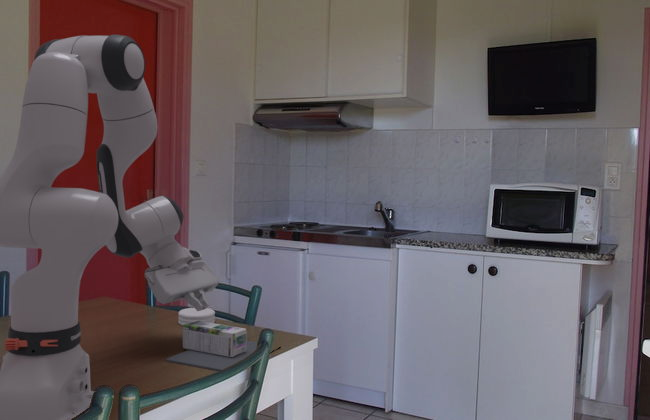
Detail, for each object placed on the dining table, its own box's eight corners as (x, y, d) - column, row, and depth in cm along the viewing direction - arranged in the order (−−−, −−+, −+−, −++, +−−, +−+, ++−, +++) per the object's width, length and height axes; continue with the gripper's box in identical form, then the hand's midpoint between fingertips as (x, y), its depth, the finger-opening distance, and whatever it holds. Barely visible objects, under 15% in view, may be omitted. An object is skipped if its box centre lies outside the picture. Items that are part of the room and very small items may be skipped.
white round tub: (175, 320, 180) (175, 308, 180) (211, 318, 184) (211, 306, 184) (181, 329, 171) (181, 316, 171) (218, 326, 175) (218, 314, 174)
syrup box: (197, 319, 155) (247, 327, 149) (197, 343, 156) (247, 352, 149) (181, 324, 150) (233, 332, 144) (182, 349, 151) (233, 358, 144)
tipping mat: (165, 360, 142) (165, 359, 142) (222, 338, 162) (222, 336, 162) (229, 373, 135) (229, 371, 135) (281, 347, 155) (281, 346, 155)
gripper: (148, 260, 144) (183, 308, 140) (203, 250, 162) (235, 293, 159) (133, 278, 146) (167, 326, 143) (189, 266, 165) (220, 308, 161)
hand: (203, 308), depth 151 cm, fingers closed
